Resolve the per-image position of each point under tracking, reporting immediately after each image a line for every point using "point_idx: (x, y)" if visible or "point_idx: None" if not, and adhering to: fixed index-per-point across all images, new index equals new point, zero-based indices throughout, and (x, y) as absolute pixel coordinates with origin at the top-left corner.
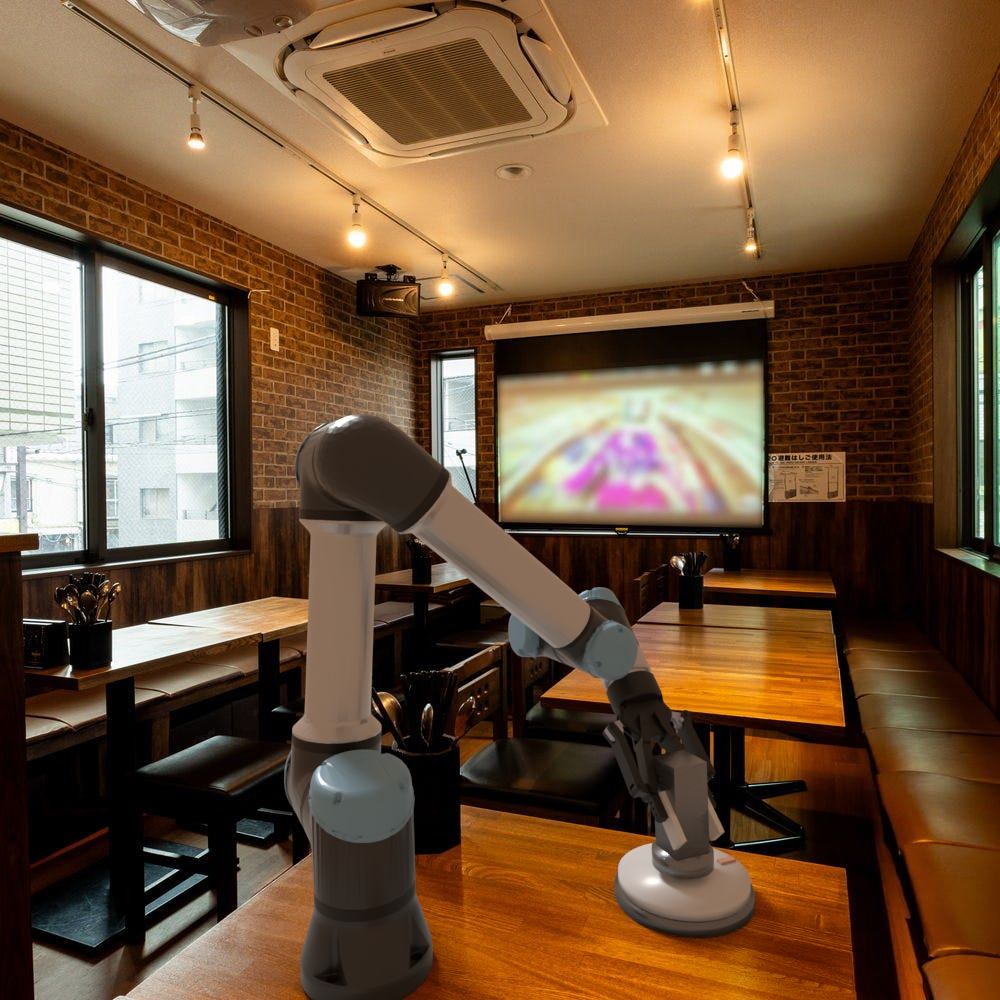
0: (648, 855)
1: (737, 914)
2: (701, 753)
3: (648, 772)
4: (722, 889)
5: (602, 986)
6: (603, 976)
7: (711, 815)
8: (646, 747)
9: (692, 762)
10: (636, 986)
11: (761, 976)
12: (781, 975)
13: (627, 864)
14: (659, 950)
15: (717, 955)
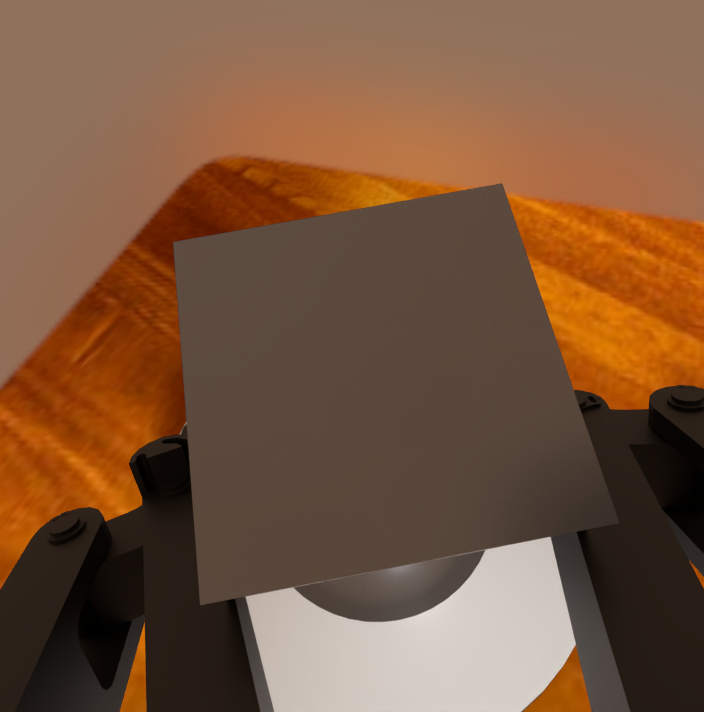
0: (457, 651)
1: None
2: (4, 665)
3: (629, 469)
4: None
5: (673, 230)
6: (667, 256)
7: None
8: (697, 691)
9: (292, 263)
10: (600, 219)
11: (337, 204)
12: (297, 201)
13: (556, 602)
14: None
15: None
